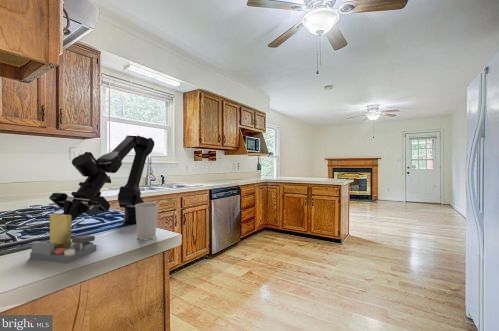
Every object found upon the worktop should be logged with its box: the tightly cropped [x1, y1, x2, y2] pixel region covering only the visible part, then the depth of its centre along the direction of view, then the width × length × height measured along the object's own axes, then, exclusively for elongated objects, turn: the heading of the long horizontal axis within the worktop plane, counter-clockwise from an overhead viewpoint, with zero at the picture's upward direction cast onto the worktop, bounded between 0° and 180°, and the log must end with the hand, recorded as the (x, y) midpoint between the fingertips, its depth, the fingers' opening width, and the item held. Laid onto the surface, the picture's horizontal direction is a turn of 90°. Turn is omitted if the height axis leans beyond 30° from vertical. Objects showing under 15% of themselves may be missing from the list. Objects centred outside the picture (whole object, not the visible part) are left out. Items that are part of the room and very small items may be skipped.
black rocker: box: [71, 234, 96, 243], centre depth 75 cm, size 5×3×1 cm, turn 171°
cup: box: [135, 202, 160, 241], centre depth 90 cm, size 8×8×12 cm
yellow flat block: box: [49, 213, 72, 247], centre depth 75 cm, size 2×6×10 cm, turn 81°
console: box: [29, 240, 97, 264], centre depth 73 cm, size 10×12×5 cm
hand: (63, 224), depth 76 cm, fingers closed, pressing on yellow flat block
